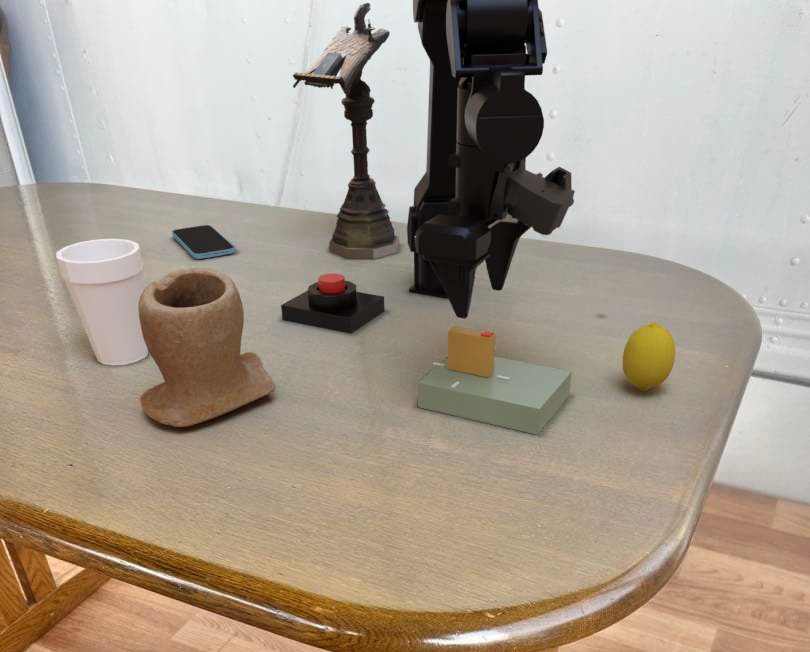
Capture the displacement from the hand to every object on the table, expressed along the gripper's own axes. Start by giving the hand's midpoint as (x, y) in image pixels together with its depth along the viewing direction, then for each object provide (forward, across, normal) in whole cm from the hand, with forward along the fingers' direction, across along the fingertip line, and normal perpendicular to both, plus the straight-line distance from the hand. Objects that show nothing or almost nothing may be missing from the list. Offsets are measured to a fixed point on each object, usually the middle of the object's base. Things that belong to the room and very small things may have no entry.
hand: (480, 303), depth 86 cm
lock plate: (+10, -1, -3) cm, 11 cm away
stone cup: (+11, -16, +24) cm, 31 cm away
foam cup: (+11, -10, +44) cm, 47 cm away
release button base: (+10, +13, +27) cm, 32 cm away
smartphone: (+10, +31, +65) cm, 73 cm away
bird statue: (+10, +39, +39) cm, 56 cm away
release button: (+7, +13, +27) cm, 31 cm away
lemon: (+11, +9, -17) cm, 22 cm away
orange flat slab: (+7, -1, 0) cm, 8 cm away
